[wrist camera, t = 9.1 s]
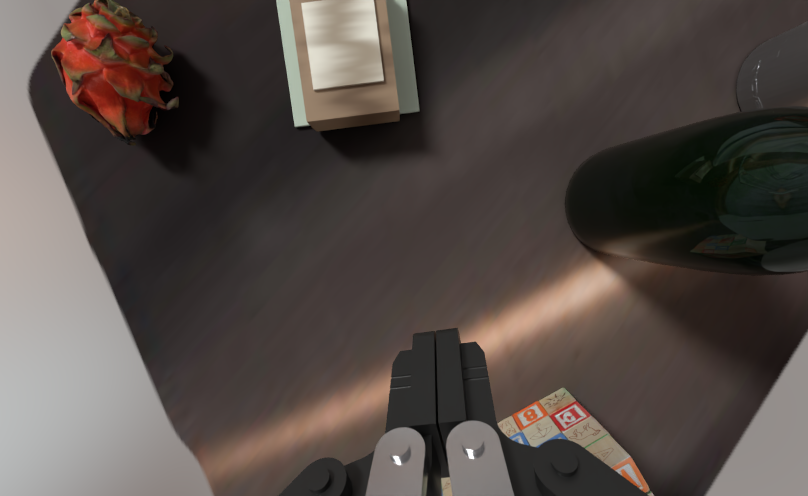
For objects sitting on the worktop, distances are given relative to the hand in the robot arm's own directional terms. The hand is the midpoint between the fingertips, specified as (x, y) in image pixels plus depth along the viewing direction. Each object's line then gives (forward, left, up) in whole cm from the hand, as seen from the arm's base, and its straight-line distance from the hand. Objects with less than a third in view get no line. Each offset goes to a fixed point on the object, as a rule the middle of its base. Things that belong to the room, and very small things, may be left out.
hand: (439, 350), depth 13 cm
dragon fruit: (+23, -20, -26) cm, 40 cm away
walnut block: (+4, -14, -24) cm, 28 cm away
